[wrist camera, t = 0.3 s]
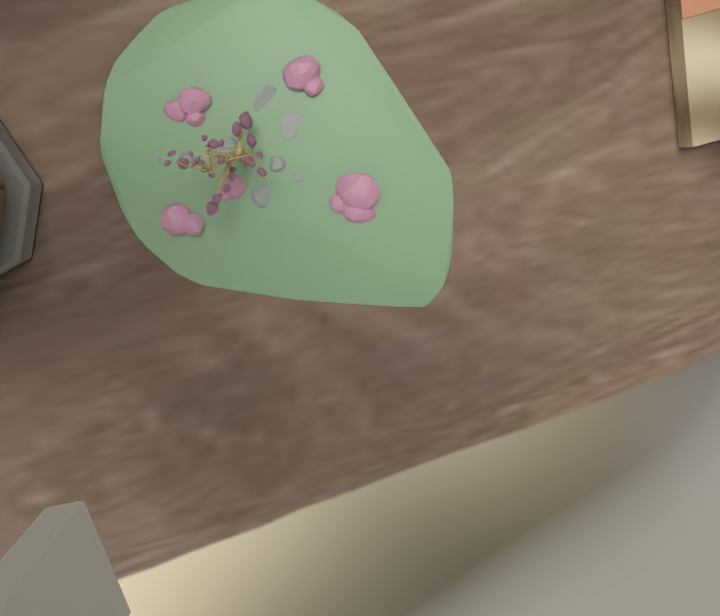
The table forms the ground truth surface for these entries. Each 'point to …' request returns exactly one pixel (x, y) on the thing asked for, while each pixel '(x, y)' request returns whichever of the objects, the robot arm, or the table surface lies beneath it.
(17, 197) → the tankard
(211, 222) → the plant
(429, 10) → the table surface
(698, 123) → the grey sliding block rail
